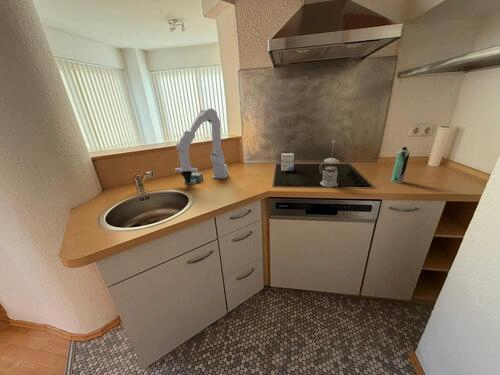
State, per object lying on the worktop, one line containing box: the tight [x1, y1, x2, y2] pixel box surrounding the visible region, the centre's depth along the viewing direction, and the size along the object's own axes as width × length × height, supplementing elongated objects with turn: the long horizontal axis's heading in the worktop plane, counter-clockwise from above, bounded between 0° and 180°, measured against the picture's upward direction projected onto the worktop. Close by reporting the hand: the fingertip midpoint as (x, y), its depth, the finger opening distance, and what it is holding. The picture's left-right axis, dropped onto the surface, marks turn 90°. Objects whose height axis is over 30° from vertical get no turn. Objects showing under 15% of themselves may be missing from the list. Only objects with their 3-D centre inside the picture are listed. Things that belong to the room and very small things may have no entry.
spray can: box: [390, 146, 411, 184], centre depth 114 cm, size 6×6×20 cm
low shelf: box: [191, 172, 204, 183], centre depth 133 cm, size 10×5×4 cm, turn 77°
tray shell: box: [183, 177, 199, 185], centre depth 131 cm, size 7×6×2 cm
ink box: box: [280, 153, 295, 172], centre depth 145 cm, size 8×5×12 cm, turn 84°
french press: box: [319, 140, 340, 188], centre depth 115 cm, size 10×12×25 cm
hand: (188, 182), depth 127 cm, fingers closed, pressing on tray shell
